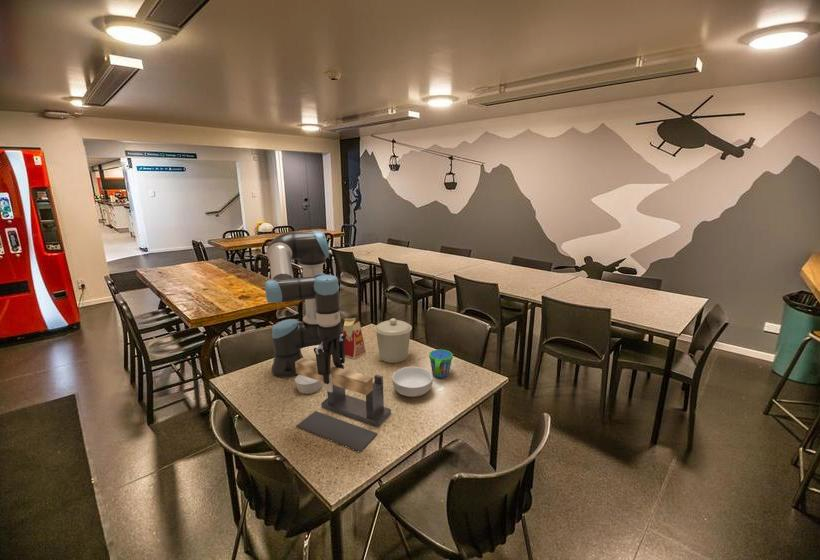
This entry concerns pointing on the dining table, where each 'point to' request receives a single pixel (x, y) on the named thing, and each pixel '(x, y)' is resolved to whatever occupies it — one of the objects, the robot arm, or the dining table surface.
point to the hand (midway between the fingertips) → (333, 387)
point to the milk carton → (353, 339)
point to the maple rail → (336, 376)
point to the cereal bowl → (412, 381)
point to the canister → (393, 340)
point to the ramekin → (307, 384)
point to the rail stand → (359, 404)
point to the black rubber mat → (337, 430)
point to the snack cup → (440, 362)
